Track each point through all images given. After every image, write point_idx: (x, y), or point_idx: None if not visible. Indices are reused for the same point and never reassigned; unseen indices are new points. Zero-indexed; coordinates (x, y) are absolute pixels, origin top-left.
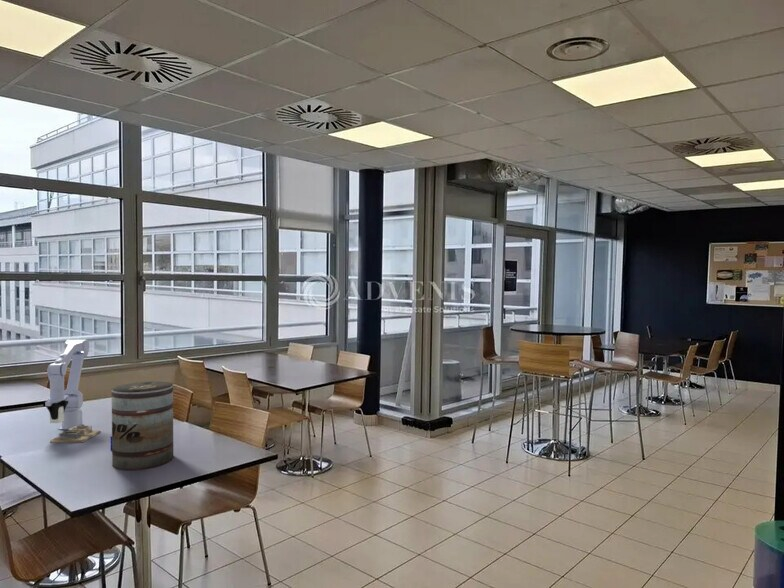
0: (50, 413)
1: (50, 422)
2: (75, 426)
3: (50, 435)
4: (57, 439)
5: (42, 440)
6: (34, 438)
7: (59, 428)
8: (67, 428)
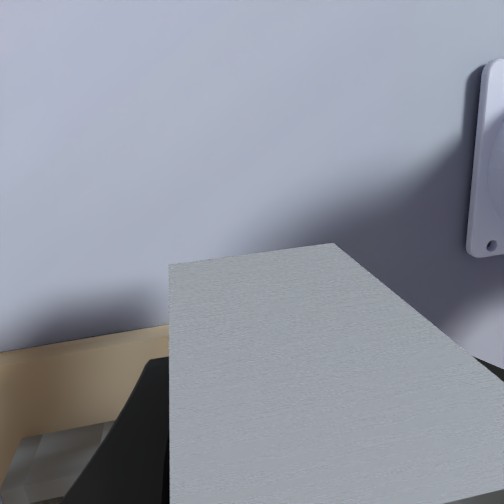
0: (90, 475)
1: (171, 277)
2: None
3: (243, 147)
4: (16, 416)
5: (27, 205)
6: (86, 22)
7: (493, 82)
8: (481, 185)
